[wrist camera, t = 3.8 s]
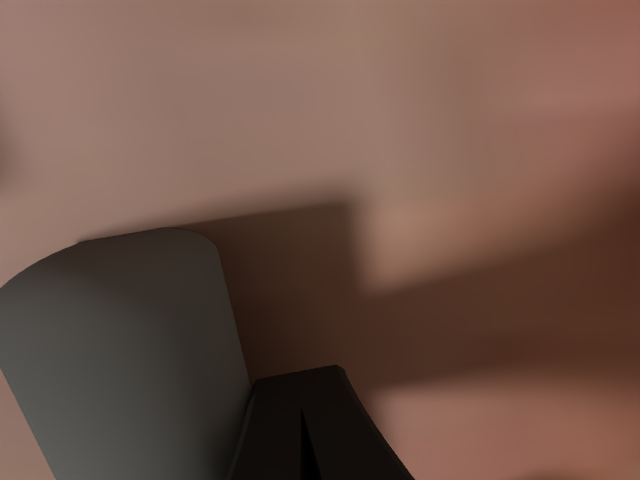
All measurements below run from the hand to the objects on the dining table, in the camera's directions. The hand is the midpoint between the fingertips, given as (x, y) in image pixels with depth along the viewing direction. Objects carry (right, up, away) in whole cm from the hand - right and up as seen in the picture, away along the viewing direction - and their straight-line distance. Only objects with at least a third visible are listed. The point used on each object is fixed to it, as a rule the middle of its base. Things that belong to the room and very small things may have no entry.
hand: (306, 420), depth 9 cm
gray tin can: (-4, 0, 0) cm, 4 cm away
